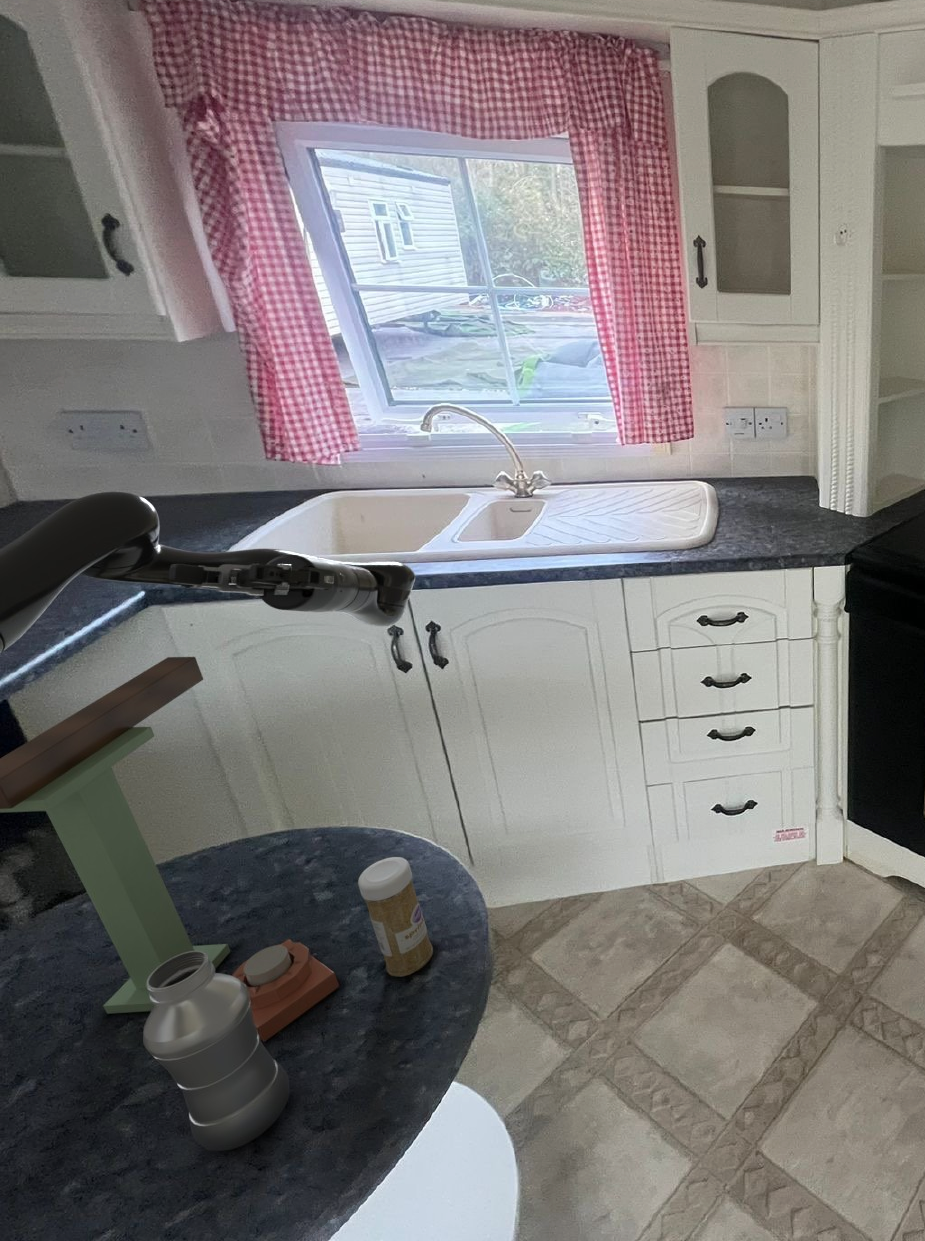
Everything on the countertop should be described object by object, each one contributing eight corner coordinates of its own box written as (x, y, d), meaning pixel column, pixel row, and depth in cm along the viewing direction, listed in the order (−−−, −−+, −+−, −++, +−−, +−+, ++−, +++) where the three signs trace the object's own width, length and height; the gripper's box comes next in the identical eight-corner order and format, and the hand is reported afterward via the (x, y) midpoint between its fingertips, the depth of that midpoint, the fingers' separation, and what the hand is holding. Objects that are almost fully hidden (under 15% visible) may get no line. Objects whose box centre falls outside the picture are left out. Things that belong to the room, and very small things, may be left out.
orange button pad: (218, 1003, 79) (206, 977, 77) (294, 952, 85) (284, 927, 83) (264, 1042, 75) (252, 1015, 74) (339, 986, 81) (330, 960, 80)
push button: (240, 977, 78) (235, 966, 77) (280, 951, 81) (276, 939, 80) (259, 992, 76) (254, 980, 76) (299, 965, 79) (294, 953, 79)
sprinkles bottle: (431, 969, 83) (405, 879, 78) (383, 984, 82) (352, 893, 76) (435, 937, 87) (411, 850, 82) (389, 951, 85) (361, 862, 80)
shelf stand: (178, 939, 86) (80, 728, 75) (244, 936, 86) (156, 726, 75) (88, 1032, 75) (-40, 803, 64) (164, 1027, 76) (50, 800, 65)
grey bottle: (309, 1108, 70) (245, 957, 62) (217, 1179, 64) (136, 1022, 57) (278, 1071, 73) (214, 922, 65) (188, 1136, 67) (106, 981, 60)
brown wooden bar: (176, 679, 83) (167, 656, 82) (204, 679, 83) (195, 656, 82) (-25, 810, 64) (-41, 782, 63) (11, 808, 64) (-3, 781, 63)
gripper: (363, 611, 103) (275, 604, 87) (251, 612, 101) (141, 605, 85) (368, 557, 104) (281, 541, 88) (257, 558, 102) (149, 541, 86)
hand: (212, 572), depth 86 cm, fingers open, 8 cm apart
